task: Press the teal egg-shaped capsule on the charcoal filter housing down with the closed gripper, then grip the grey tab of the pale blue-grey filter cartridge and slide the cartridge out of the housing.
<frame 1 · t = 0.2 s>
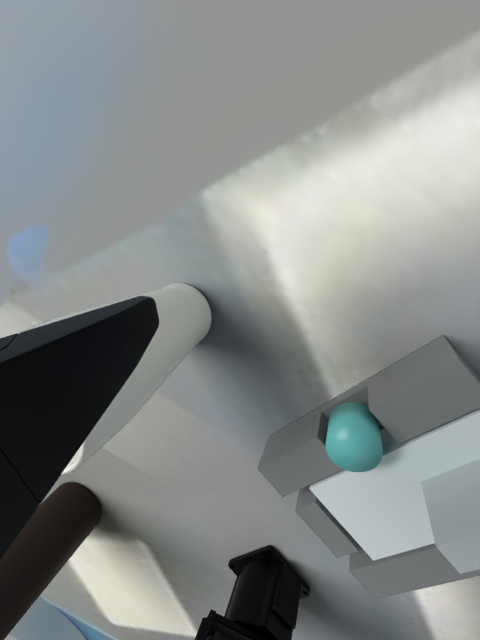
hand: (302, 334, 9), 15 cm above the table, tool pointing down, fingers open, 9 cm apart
drinking glass: (186, 311, 28), on the table
teal egg-shaped capsule: (353, 436, 22), point 4 cm above the table, slide at 0.0 cm
filter housing: (402, 459, 25), on the table
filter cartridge: (428, 505, 21), point 5 cm above the table, slide at 0.0 cm
bottle: (82, 500, 42), on the table
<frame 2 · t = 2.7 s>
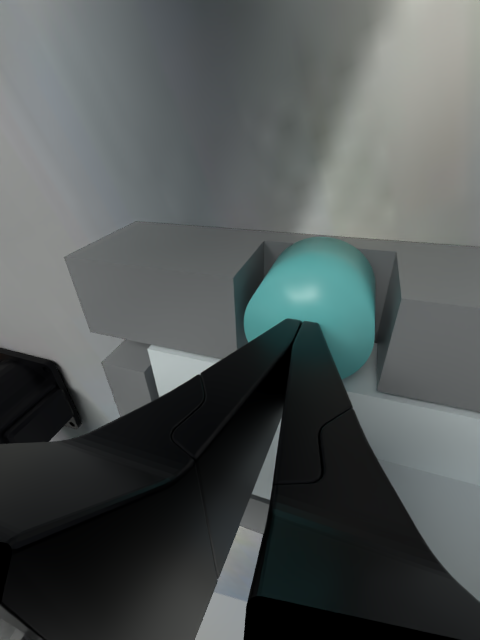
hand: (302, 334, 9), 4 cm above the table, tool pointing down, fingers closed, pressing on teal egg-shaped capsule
teal egg-shaped capsule: (313, 308, 10), point 3 cm above the table, slide at 0.9 cm, touching gripper
filter housing: (312, 382, 15), on the table
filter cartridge: (324, 486, 11), point 5 cm above the table, slide at 0.0 cm
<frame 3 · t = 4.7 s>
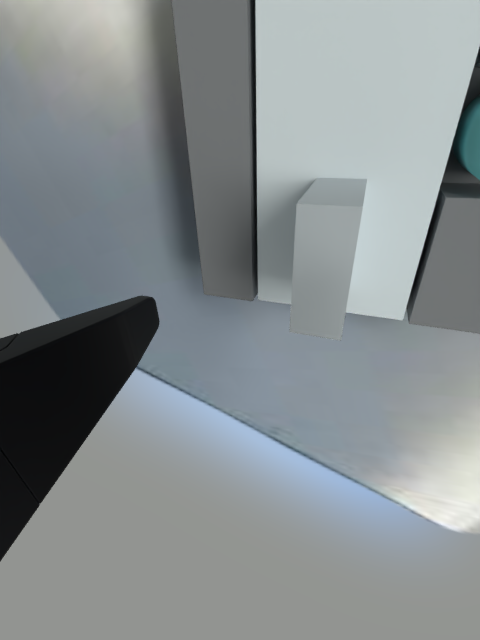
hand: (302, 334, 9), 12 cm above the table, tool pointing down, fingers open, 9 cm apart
filter housing: (353, 130, 16), on the table
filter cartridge: (340, 172, 13), point 5 cm above the table, slide at 0.0 cm
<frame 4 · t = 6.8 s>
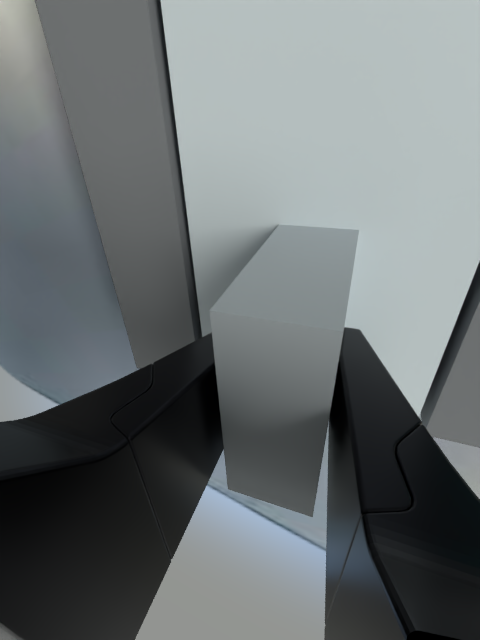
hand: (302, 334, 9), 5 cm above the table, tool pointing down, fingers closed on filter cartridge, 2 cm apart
filter housing: (340, 144, 11), on the table
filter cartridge: (313, 223, 7), point 5 cm above the table, slide at 0.0 cm, touching gripper
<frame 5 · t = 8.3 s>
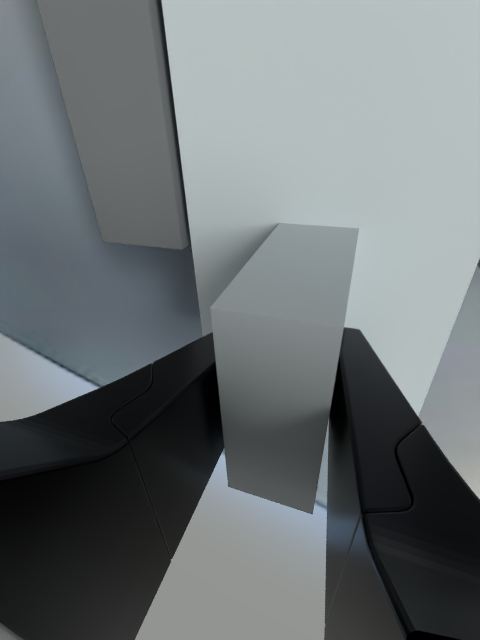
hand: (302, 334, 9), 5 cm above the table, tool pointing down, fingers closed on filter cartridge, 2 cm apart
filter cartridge: (313, 222, 7), point 5 cm above the table, slide at 5.5 cm, touching gripper
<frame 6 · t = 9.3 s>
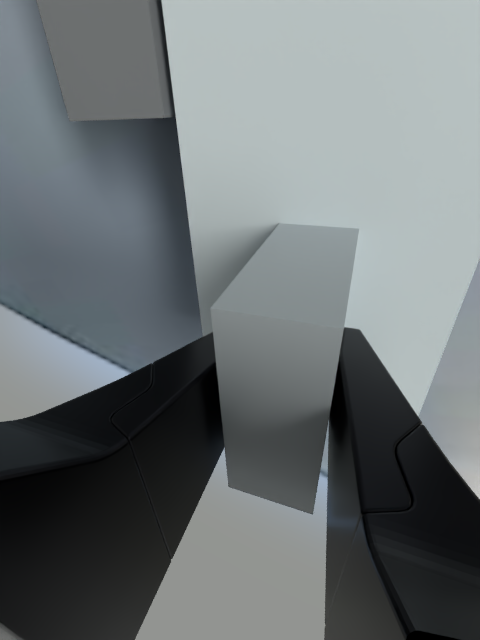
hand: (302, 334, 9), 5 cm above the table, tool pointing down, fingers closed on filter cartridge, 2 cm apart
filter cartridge: (313, 222, 7), point 5 cm above the table, slide at 9.0 cm, touching gripper
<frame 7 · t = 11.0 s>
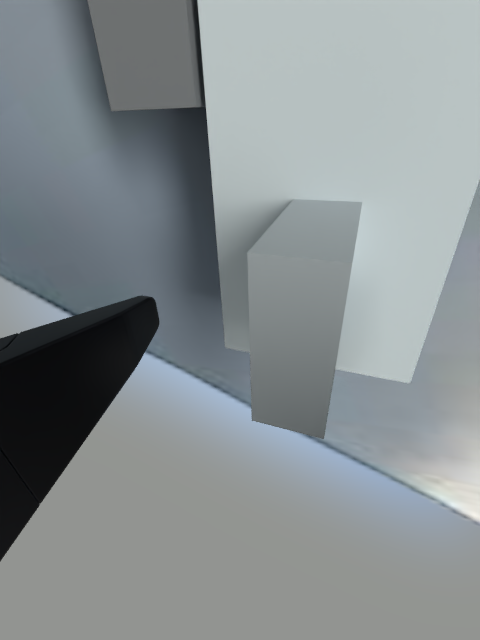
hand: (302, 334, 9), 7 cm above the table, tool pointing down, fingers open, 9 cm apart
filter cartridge: (324, 195, 9), point 5 cm above the table, slide at 9.0 cm
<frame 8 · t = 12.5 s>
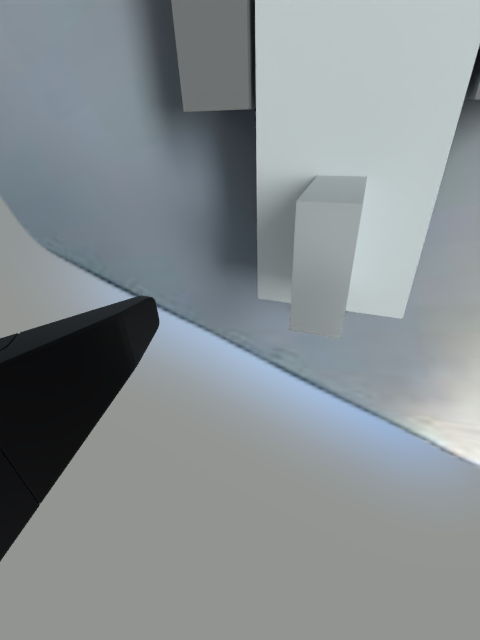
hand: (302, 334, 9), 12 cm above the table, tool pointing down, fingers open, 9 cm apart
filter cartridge: (340, 170, 13), point 5 cm above the table, slide at 9.0 cm
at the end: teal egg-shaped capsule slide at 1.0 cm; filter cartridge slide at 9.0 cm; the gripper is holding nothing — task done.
